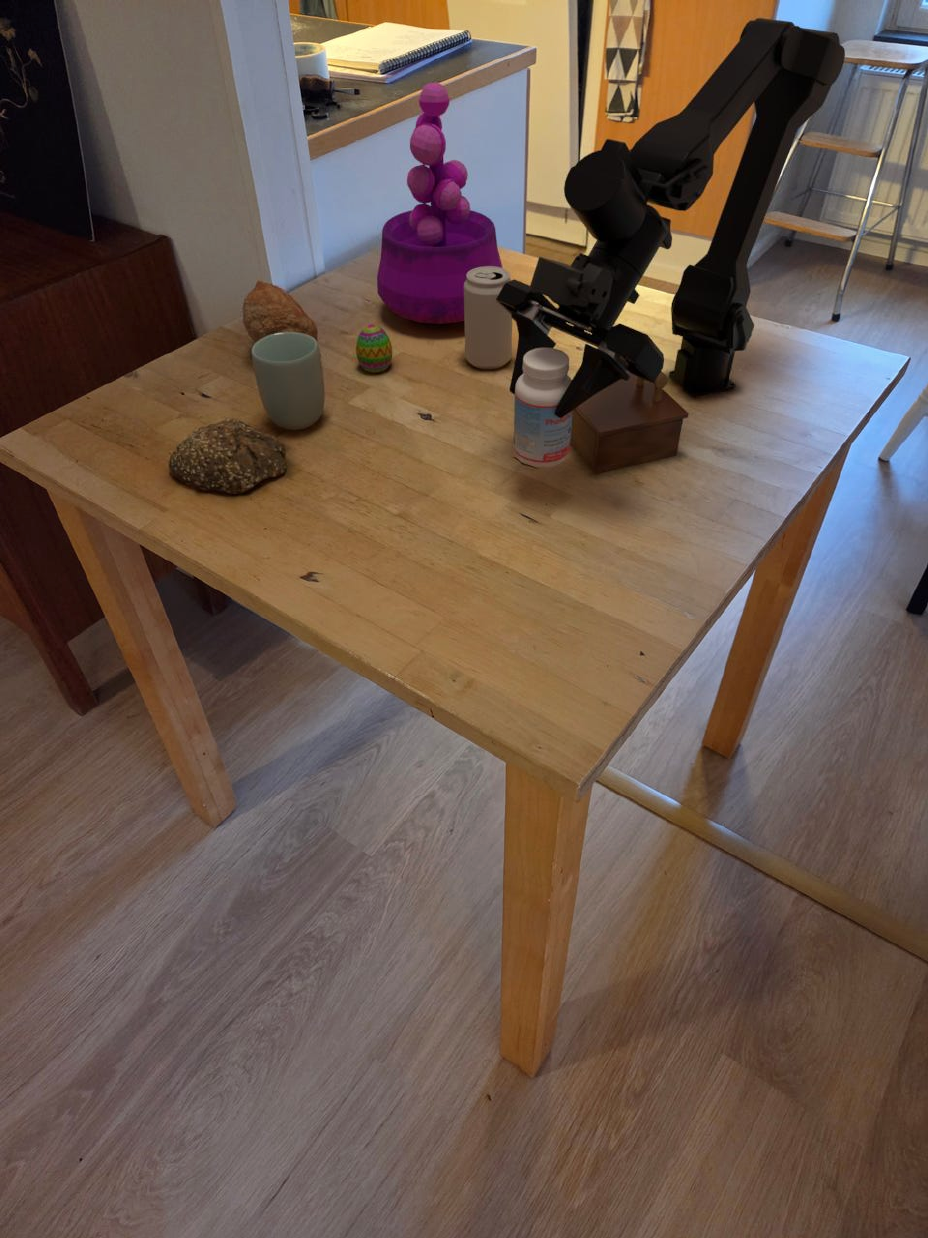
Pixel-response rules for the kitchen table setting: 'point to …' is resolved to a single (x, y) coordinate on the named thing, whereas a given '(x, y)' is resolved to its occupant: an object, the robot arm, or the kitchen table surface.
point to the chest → (624, 444)
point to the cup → (289, 379)
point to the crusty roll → (274, 313)
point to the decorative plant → (433, 229)
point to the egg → (374, 349)
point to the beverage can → (486, 318)
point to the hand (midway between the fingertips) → (534, 404)
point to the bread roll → (227, 457)
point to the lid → (630, 406)
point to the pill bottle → (542, 409)
